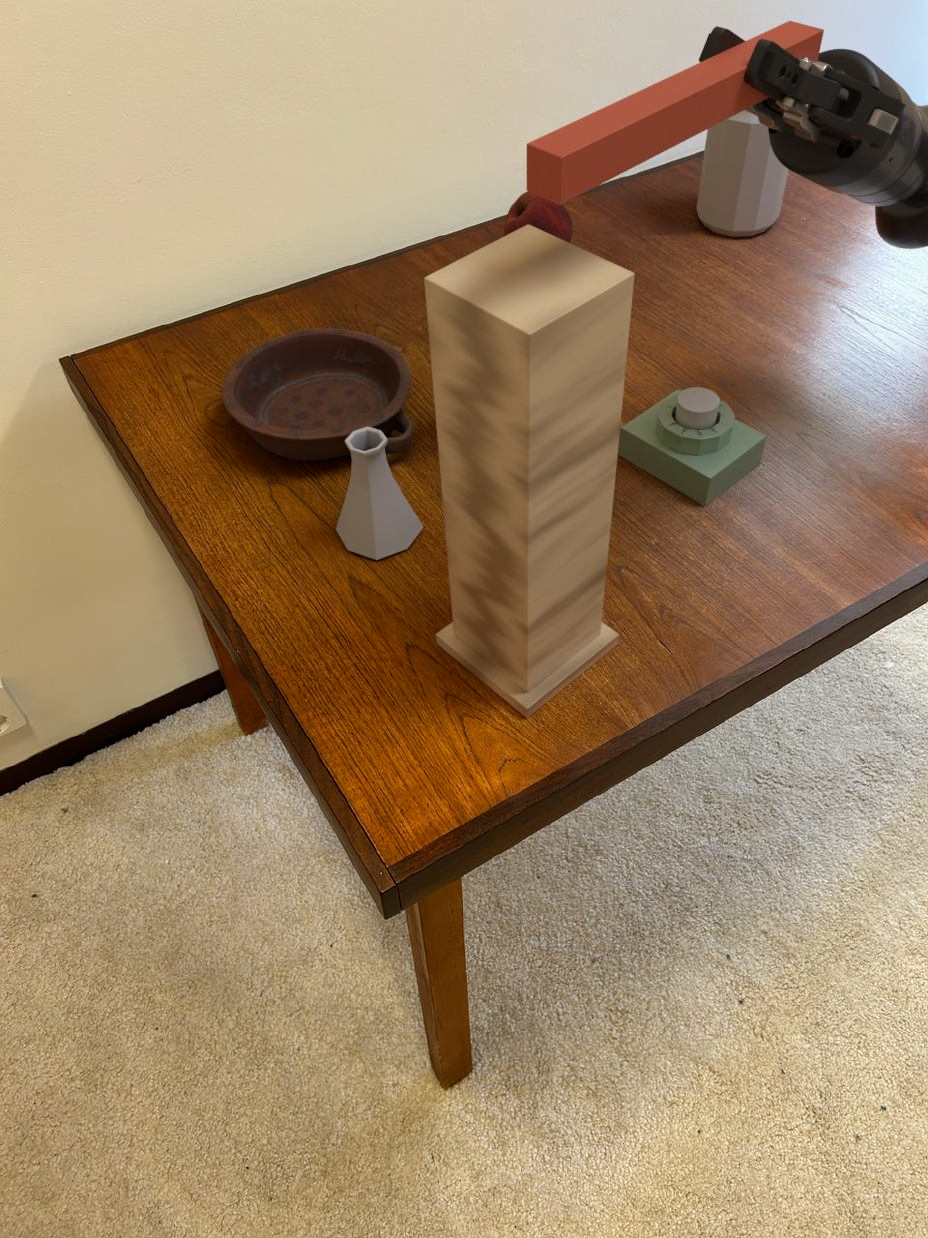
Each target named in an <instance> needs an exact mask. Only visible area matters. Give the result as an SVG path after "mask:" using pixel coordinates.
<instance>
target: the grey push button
mask: <svg viewBox="0 0 928 1238" xmlns="http://www.w3.org/2000/svg"><path fill="white" fill-rule="evenodd" d="M681 391H682V392H680V394H679V395H678V398H677V405H676V412H675V421H676V422H677V424H678V425H680V426H682V427H684V428H686V429H692V430H705V429H710V428H711V427H713V426H714V425H715V423H716V420H717V415H718V409H719V404H720V400H721V399H720V397H719V395H718V393H716V392H715V391H713V390H712V389H709V388H705V387H701V386H693V387H688V388H685V389H683V390H681Z"/></svg>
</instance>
